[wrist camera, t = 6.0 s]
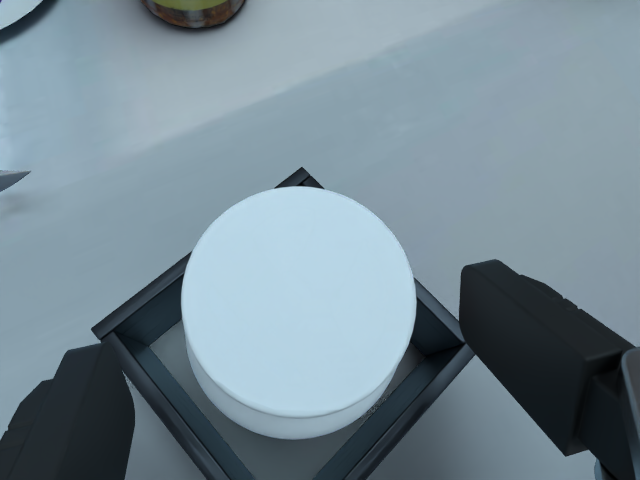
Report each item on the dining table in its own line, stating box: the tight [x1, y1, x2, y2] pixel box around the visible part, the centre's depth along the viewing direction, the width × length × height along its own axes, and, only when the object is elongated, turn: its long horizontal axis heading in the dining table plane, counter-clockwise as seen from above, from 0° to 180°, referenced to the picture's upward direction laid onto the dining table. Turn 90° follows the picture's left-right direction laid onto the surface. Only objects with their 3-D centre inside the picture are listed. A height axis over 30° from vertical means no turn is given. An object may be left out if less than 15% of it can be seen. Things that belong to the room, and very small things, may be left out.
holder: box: [91, 167, 476, 480], centre depth 16 cm, size 9×9×4 cm
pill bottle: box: [181, 186, 417, 440], centre depth 13 cm, size 6×6×10 cm
